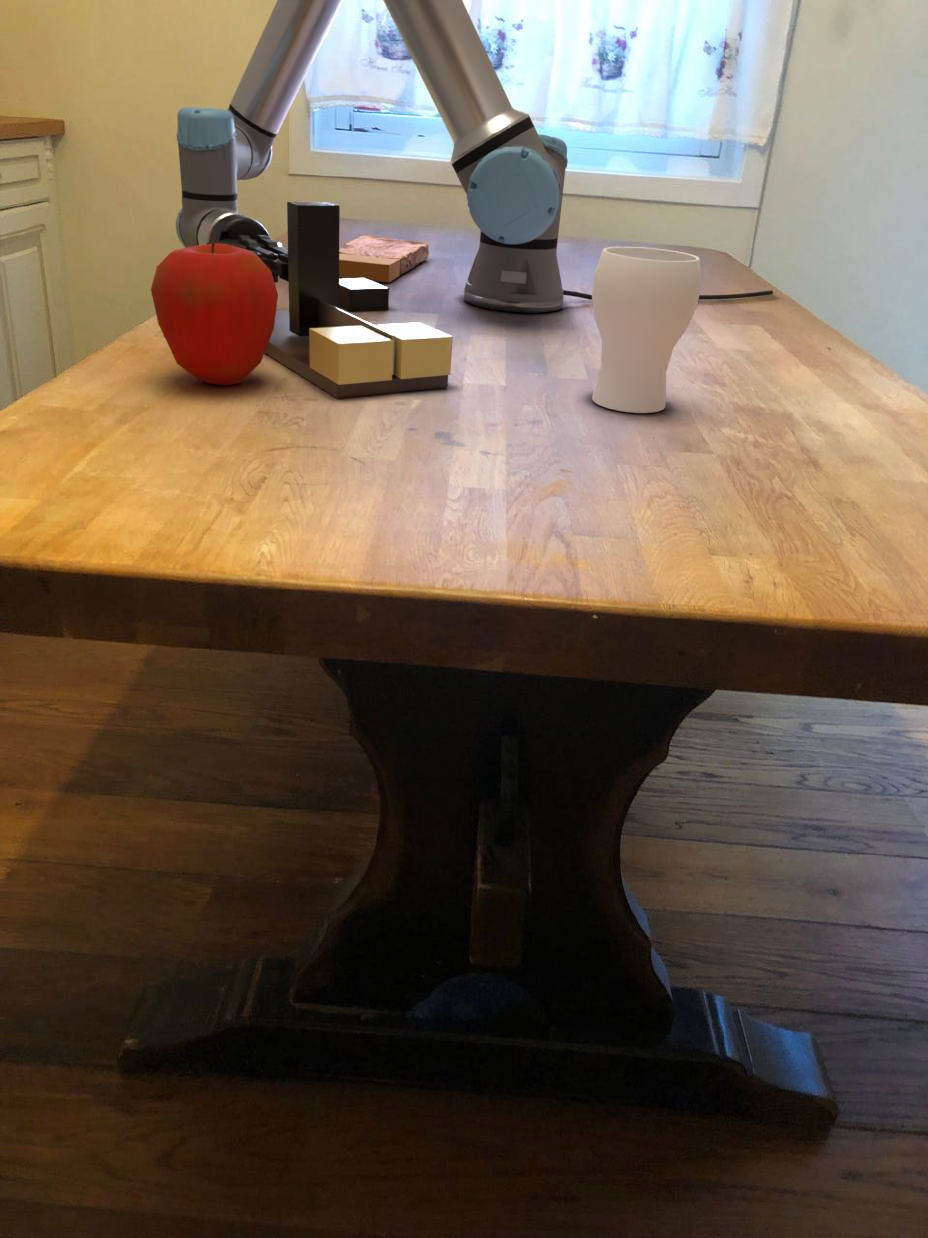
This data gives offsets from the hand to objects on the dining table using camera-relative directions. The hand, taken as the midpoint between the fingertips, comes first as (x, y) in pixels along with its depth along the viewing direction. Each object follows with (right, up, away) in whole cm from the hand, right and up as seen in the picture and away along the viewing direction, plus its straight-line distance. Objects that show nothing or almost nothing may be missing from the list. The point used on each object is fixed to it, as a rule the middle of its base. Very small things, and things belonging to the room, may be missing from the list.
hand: (306, 275), depth 110 cm
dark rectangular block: (+3, +5, +27) cm, 28 cm away
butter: (+9, -14, -10) cm, 20 cm away
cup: (+36, -17, -9) cm, 41 cm away
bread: (+3, +22, +57) cm, 62 cm away
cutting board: (+2, -9, +1) cm, 9 cm away
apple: (-7, -16, -12) cm, 21 cm away
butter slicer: (+5, -10, -5) cm, 12 cm away
